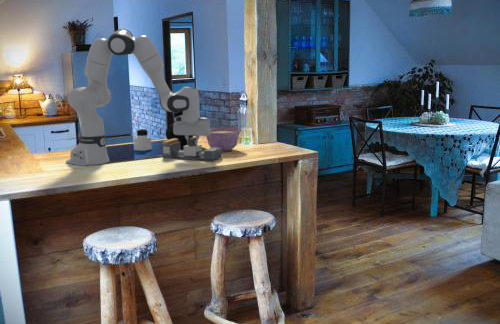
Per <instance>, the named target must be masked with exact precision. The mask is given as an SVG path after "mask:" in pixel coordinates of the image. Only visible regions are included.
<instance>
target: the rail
mask: <svg viewBox="0 0 500 324" xmlns="http://www.w3.org/2000/svg"><path fill="white" fill-rule="evenodd" d="M161 146H162V158H163V159H175V160H176V159H177V160H186V161H187V160H188V161H199V162H200V161H201V162H212V163H213V162H215V161H218V160H221V159H222V152H221V148H216V147H212V148H211V147H210V148H207V149H204V150H203V151H202V152H199V151H198V152H196V156H184V149H182V150H181V148H182V147H180V142H178V141H176V142H173V143H169V144H163V143H162V145H161Z"/></svg>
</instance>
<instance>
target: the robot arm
mask: <svg viewBox="0 0 500 324" xmlns="http://www.w3.org/2000/svg"><path fill="white" fill-rule="evenodd" d="M131 54H132V55H134V56H135V59H136V60H137V61H138V62H137V63H138V64H139V66H140V67H141V68H142V70H143V71H144V72H145V74H146V75H147V77H148V78H149V79H150V81H151V82H152V83H151V84H152V85H153V86H154V89H155V90H156V92H157V95H158V99H159V104H160V107H161V109H163V110H164V111H165V112H171V113H173V114H174V113H177V112H181V111H183V115H180V116H178V117H175V118H173V119H174V121H176V122H175V123H174V122H173V123H174V125H173V133H174V134H175V135H185V138H186V140H187V143H188V139H189V138H188V137H189V135H193V137H196V140H195V141H194V144H198V142H199V141H198V140H199V139H200V137H201V136H203V137H206V136H209V135H210V134H211V129H212V128H211V120H210V119H209V118H207V117H201V112H200V96H199V91H198V89H197V88H196V87H193V86H192V87H191V86H183V87H182V88H181V89H179V90H178V91H176V92H173V91H172V90H171V89H170V88H169V85H168V84H167V82H166V80H165V78H164V74H163V72H164V67H165V64H164V60H163V58H162V56H161V54H160V52H159V50H158V48H157V47H156V45H155V44H154V43H153V41H152V39H150V37H148V36H146V35H139V36H137V37H134V35H133V33H132V32H131V31H129V30H128V29H125V28H120V29H117V30H115V31H114V32H113V33H112V34H111V35H110V36H109V37H108V38H102V37H99V38H95V39H94V40H93V41H92V43H91V45H90V47H89V51H88V54H87V57H86V60H85V61H86V63H85V65H84V70H83V71H84V72H83V73H84V75H85V77H86V78H87V82H88V84H87V86H80V87H76V88H73V89H71V90H70V91H69V92H68V94H67V100H68V101H67V102H68V104H69V106H70V107H71V108H72V109H74V110H75V112H76V114H77V116H78V118H79V124H80V129H81V136H78V137H77V139H78V140H79V143H78V144H77V145H76V146H75V147H74V148H72V150H71V151H70V153H69V154H70V155H69V156H70V158H69V159H67V160H66V161H65V164H72V165H77V166H82V167H83V166H84V167H85V166H94V165H95V166H96V165H103V164H107V163H109V162H110V158H109V155H108V150H107V145H106V144H107V143H106V142H107V139H106V134H105V127H104V119H103V118H102V117H101V116H100V115H99V114H98V112H97V109H96V108H102V107H104V106H106V105H108V104H109V103H110V102H112V101H111V100H112V93H111V91H110V89H109V88H108V81H107V80H108V75H109V71H110V70H109V69H110V66H111V61H112V58H113V55H115V56H126V55H131ZM198 145H199V144H198Z"/></svg>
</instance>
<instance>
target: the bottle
mask: <svg viewBox="0 0 500 324" xmlns="http://www.w3.org/2000/svg"><path fill="white" fill-rule="evenodd" d="M180 115H183V111H181V112H177V113H174V112H173V117H174V118H175V117H178V116H180ZM174 118H173V119H174ZM175 122H176V121H174V122H173V123H171V124H170V125H169V126H168V127H167V129H166V131H165V136H166V139H167V140H170V139H173V138H175V139H178V142H180V147H181V148H184V146H186V145H188V143H187V140H186V138H185V135H175V134H174V133H173V125H174V123H175ZM192 137H194V136H193V135H189V137H188V138H192Z"/></svg>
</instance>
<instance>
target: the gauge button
mask: <svg viewBox="0 0 500 324" xmlns="http://www.w3.org/2000/svg"><path fill="white" fill-rule="evenodd" d="M176 141H178V139H175V138H173V139H170V140H168V139H167V140H163V141H162V144H169V143H173V142H176Z"/></svg>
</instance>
